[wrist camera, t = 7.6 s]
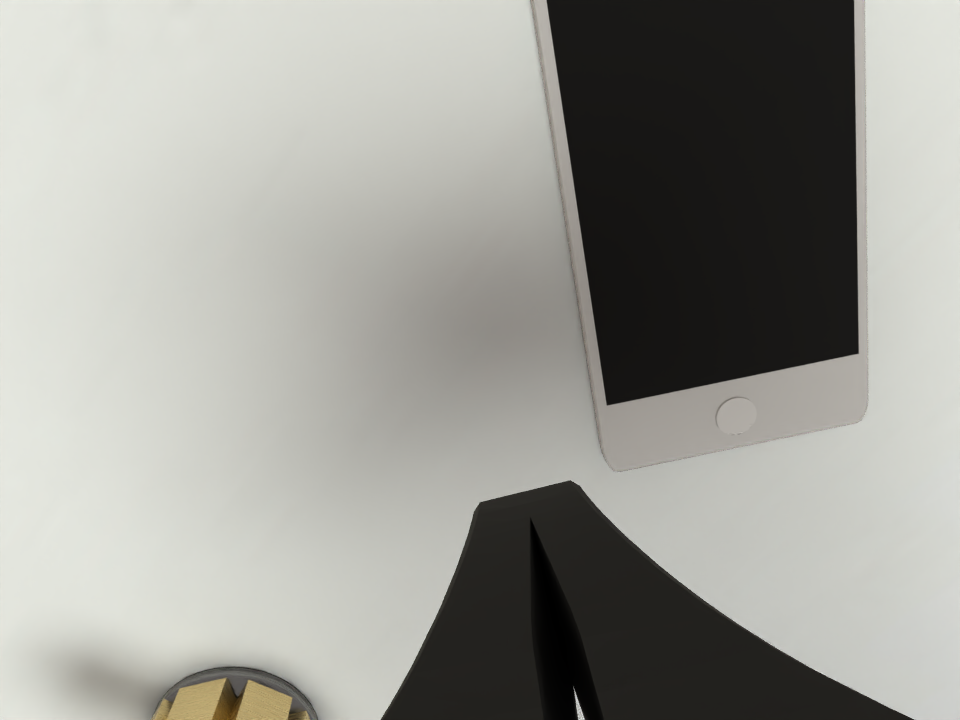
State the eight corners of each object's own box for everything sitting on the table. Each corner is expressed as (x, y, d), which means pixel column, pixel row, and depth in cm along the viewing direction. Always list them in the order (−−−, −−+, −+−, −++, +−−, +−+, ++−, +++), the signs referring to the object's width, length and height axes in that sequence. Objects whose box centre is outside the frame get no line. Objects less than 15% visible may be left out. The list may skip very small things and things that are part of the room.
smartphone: (599, 460, 20) (608, 477, 20) (497, -195, 15) (501, -213, 14) (852, 408, 20) (871, 422, 20) (840, -268, 15) (866, -291, 14)
